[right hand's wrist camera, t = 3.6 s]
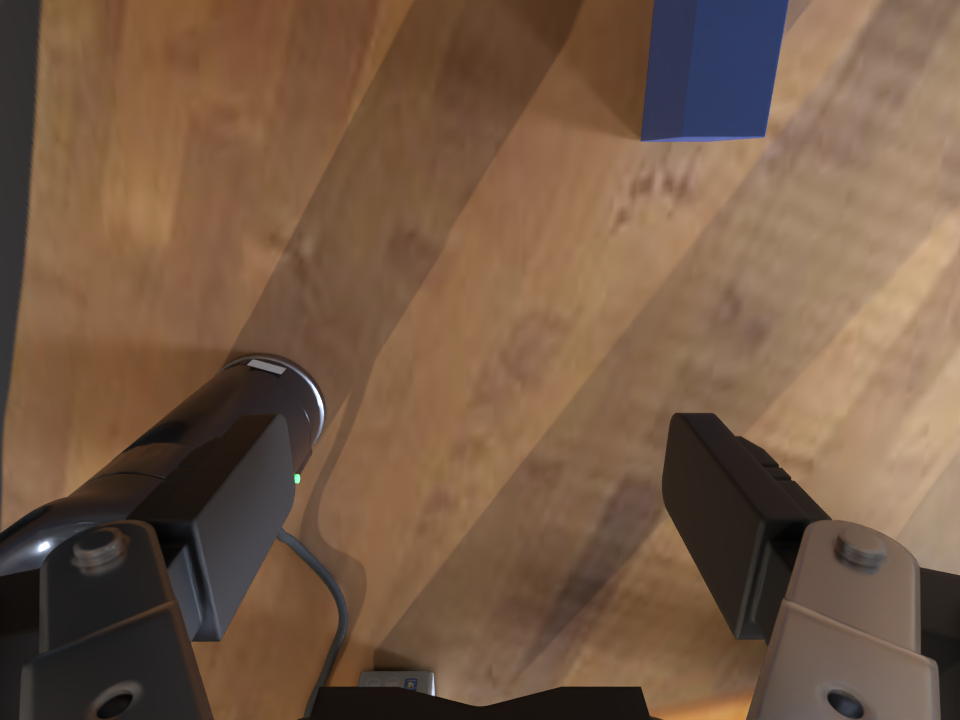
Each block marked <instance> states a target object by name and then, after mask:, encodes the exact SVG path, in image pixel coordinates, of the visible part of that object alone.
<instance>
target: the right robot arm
mask: <svg viewBox="0 0 960 720" xmlns="http://www.w3.org/2000/svg"><path fill="white" fill-rule="evenodd" d="M325 418H326V406H325V401H324V397H323V395H322V392H321V390H320V388H319V386H318V385H317V383H316V382H315V380H314V379H313V378H312V377H311V376H310V374H309V373H308V372H306V371H305V370H304V369H303V368H302V367H300V366H299V365H297V364H296V363H294V362H292V361H290V360H288V359H286V358H283V357H280V356H276V355H272V354H262V353H259V354H249V355H245V356H242V357H239V358H237V359H235V360H233V361H231V362H230V363H228V364H227V365H226V366H224V367H223V368H222V369H221V370H220V371H219V372H218V373H217V374H216V375H215V376H214V377H213V378H212V379H211V380H209V381H208V382H207V383H205V384H204V385H203V386H202V387H201V388H199V389H198V390H197V391H196V392H194V393H193V394H192V395H191V396H190V397H188V398H187V399H186V400H185V401H184V402H182V403H181V404H180V405H179V406H177V407H176V408H175V409H174V410H173V411H171V412H170V413H169V414H168V415H166V416H165V417H164V418H163V419H162V420H160V421H159V422H158V423H157V424H156V425H154V426H153V427H152V428H151V429H149V430H148V431H147V432H146V433H145V434H143V435H142V436H141V437H140V438H139V439H137V440H136V441H135V442H134V443H132V444H131V445H130V446H129V447H128V448H126V449H125V450H124V451H123V452H122V453H120V454H119V455H118V456H117V457H115V458H114V459H113V460H112V461H111V462H110V463H108V464H107V465H106V466H105V467H104V468H102V469H101V470H100V471H99V472H97V473H96V474H95V475H94V476H93V477H91V478H90V479H89V480H88V481H87V482H85V483H84V484H83V485H82V486H80V487H79V488H78V489H77V490H75V491H74V492H73V493H72V494H70V495H69V496H68V497H65V498H61V499H58V500H55V501H52V502H50V503H47V504H45V505H43V506H41V507H39V508H37V509H35V510H33V511H32V512H30V513H28V514H27V515H25V516H24V517H22V518H21V519H19V520H18V521H17V522H15V523H14V524H12V525H11V526H10V527H8V528H7V529H6V530H4V531H3V532H2V533H0V720H214V718H213V715H212V712H211V708H210V705H209V702H208V699H207V695H206V692H205V689H204V685H203V682H202V679H201V675H200V672H199V669H198V665H197V662H196V659H195V656H194V652H193V649H192V646H191V641H221V639H222V637H223V635H224V633H225V631H226V629H227V628H228V626H229V624H230V622H231V620H232V618H233V616H234V615H235V613H236V611H237V609H238V607H239V605H240V603H241V602H242V600H243V598H244V596H245V594H246V592H247V590H248V589H249V587H250V585H251V583H252V581H253V579H254V577H255V576H256V574H257V572H258V570H259V568H260V566H261V564H262V563H263V561H264V559H265V557H266V555H267V553H268V551H269V550H270V548H271V546H272V544H273V542H274V540H275V538H277V539H278V540H279V541H281V542H284V543H286V544H287V545H288V546H289V547H290V548H291V549H292V550H293V551H294V552H295V553H296V554H297V555H298V556H299V557H300V558H301V559H302V560H303V561H304V562H305V563H306V564H308V565H309V566H310V567H311V568H312V569H313V570H314V572H315V573H316V574H317V575H318V576H319V577H320V578H321V579H322V580H323V582H324V583H325V584H326V586H327V587H328V589H329V590H330V592H331V594H332V595H333V597H334V599H335V602H336V605H337V608H338V612H339V625H338V630H337V633H336V636H335V639H334V641H333V644H332V646H331V648H330V651H329V653H328V656H327V658H326V661H325V664H324V668H323V670H322V673H321V675H320V677H319V680H318V682H317V684H316V686H315V688H314V690H313V692H312V694H311V696H310V699H309V701H308V704H307V707H306V710H305V714H304V718H301V719H298V720H662V719H659V718H655V717H652V716H649V712H648V709H647V706H646V702H645V699H644V696H643V693H642V689H641V687H559V688H555V689H551V690H547V691H543V692H539V693H535V694H531V695H527V696H524V697H520V698H516V699H512V700H508V701H504V702H500V703H496V704H492V705H488V706H472V705H468V704H464V703H460V702H456V701H452V700H448V699H444V698H440V697H436V696H433V695H429V694H425V693H421V692H417V691H413V690H409V689H405V688H401V687H324V685H325V683H326V681H327V679H328V677H329V675H330V672H331V670H332V667H333V664H334V661H335V658H336V655H337V653H338V651H339V648H340V646H341V644H342V641H343V639H344V636H345V633H346V629H347V623H348V615H347V608H346V603H345V600H344V597H343V594H342V592H341V590H340V588H339V587H338V585H337V583H336V582H335V580H334V579H333V578H332V576H331V575H330V574H329V572H328V571H327V570H326V569H325V568H324V567H323V566H322V565H321V564H320V563H319V562H318V561H317V560H316V559H315V558H314V557H313V556H312V555H311V554H310V553H309V552H308V551H307V550H306V549H305V548H304V547H303V546H302V545H301V544H300V542H299V541H298V540H297V539H296V538H295V537H293V536H292V535H290V534H288V533H286V532H285V531H284V530H283V528H282V525H283V524H284V522H285V520H286V518H287V516H288V514H289V512H290V510H291V508H292V505H293V501H294V496H295V483H299V480H300V474H301V472H302V471H303V469H304V467H305V465H306V464H307V462H308V460H309V458H310V457H311V455H312V446H313V444H314V443H315V442H316V440H317V439H318V437H319V435H320V433H321V432H322V429H323V427H324V423H325ZM662 493H663V499H664V503H665V507H666V509H667V511H668V513H669V515H670V517H671V519H672V521H673V522H674V524H675V526H676V528H677V530H678V532H679V534H680V536H681V537H682V539H683V541H684V543H685V545H686V547H687V549H688V551H689V553H690V554H691V556H692V558H693V560H694V562H695V564H696V566H697V568H698V569H699V571H700V573H701V575H702V577H703V579H704V581H705V583H706V584H707V586H708V588H709V590H710V592H711V594H712V596H713V598H714V600H715V601H716V603H717V605H718V607H719V609H720V611H721V613H722V615H723V616H724V618H725V620H726V622H727V624H728V626H729V628H730V630H731V632H732V633H733V635H734V637H735V639H764V640H765V642H766V644H767V645H768V649H767V652H766V656H765V659H764V662H763V665H762V669H761V672H760V675H759V679H758V682H757V685H756V689H755V692H754V695H753V699H752V702H751V705H750V708H749V712H748V715H747V718H746V720H960V575H955V574H950V573H945V572H940V571H935V570H930V569H925V568H921V567H919V565H918V563H917V561H916V559H915V558H914V556H913V555H912V554H911V553H910V552H909V551H908V550H907V549H906V548H905V547H903V546H902V545H901V544H899V543H898V542H896V541H895V540H893V539H892V538H890V537H888V536H886V535H884V534H883V533H880V532H878V531H876V530H874V529H871V528H868V527H866V526H863V525H859V524H856V523H852V522H847V521H841V520H832V519H831V518H830V517H829V516H828V515H827V514H826V513H825V512H824V511H823V510H822V509H821V508H820V507H819V506H818V504H817V503H816V502H815V501H814V500H813V499H812V498H811V497H810V496H809V495H808V494H807V493H806V492H805V491H804V490H803V489H802V488H801V487H800V486H799V485H798V484H797V483H796V482H795V481H791V477H790V476H789V475H788V474H787V473H786V472H785V471H784V470H783V469H782V468H779V464H778V463H777V462H776V461H775V460H774V459H773V458H772V457H771V456H770V455H769V454H768V453H767V452H766V451H765V450H764V449H762V448H760V447H759V446H757V445H755V444H753V443H752V442H750V441H748V440H746V439H745V438H743V437H741V436H734V434H733V433H732V432H731V431H730V430H729V429H728V428H727V427H726V426H725V425H724V424H723V422H722V421H721V420H720V419H719V418H718V417H717V416H716V415H715V414H713V413H675V414H674V415H673V416H672V418H671V421H670V426H669V433H668V440H667V448H666V455H665V462H664V469H663V476H662Z"/></svg>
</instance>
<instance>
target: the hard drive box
mask: <svg viewBox="0 0 960 720" xmlns="http://www.w3.org/2000/svg"><path fill="white" fill-rule="evenodd" d="M357 687H401V688H405V689H409V690H413V691H417V692H421V693H425V694H429V695H433V696H435V692H434V673H433V672H430V671H362V672H361V674H360V678H359V682H358V686H357Z"/></svg>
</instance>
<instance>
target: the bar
mask: <svg viewBox="0 0 960 720" xmlns="http://www.w3.org/2000/svg"><path fill="white" fill-rule="evenodd" d="M788 1H789V0H655V1H654V11H653V21H652V32H651V42H650V52H649V62H648V73H647V83H646V93H645V103H644V114H643V124H642V134H641V141H642V142H708V141H722V140H735V139H749V138H762V137H765V134H766V129H767V123H768V117H769V111H770V105H771V100H772V94H773V88H774V82H775V76H776V71H777V65H778V59H779V53H780V47H781V42H782V36H783V30H784V24H785V18H786V13H787V7H788Z"/></svg>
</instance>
